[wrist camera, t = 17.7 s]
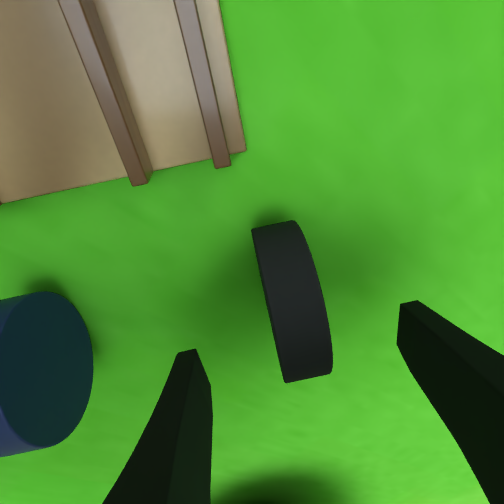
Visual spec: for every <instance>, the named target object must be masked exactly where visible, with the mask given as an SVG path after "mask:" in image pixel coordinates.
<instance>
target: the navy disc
mask: <svg viewBox="0 0 504 504" xmlns="http://www.w3.org/2000/svg"><path fill="white" fill-rule="evenodd" d="M92 382H93V353H92V347H91V342H90V338H89V334H88V331H87V328H86V326H85V323H84V321H83V319H82V317H81V316H80V314H79V313H78V311H77V310H76V308H75V307H74V306H73V305H72V304H71V303H70V302H69V301H68V300H67V299H65V298H64V297H62V296H60V295H59V294H56V293H53V292H47V291H41V292H35V293H30V294H26V295H21V296H16V297H12V298H7V299H2V300H0V457H5V456H10V455H15V454H20V453H24V452H29V451H34V450H38V449H43V448H48V447H51V446H54V445H56V444H58V443H60V442H62V441H63V440H64V439H65V438H67V437H68V436H69V435H70V434H71V433H72V432H73V431H74V429H75V428H76V427H77V425H78V424H79V422H80V420H81V418H82V417H83V414H84V412H85V410H86V407H87V404H88V401H89V398H90V394H91V389H92Z"/></svg>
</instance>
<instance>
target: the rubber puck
mask: <svg viewBox="0 0 504 504" xmlns="http://www.w3.org/2000/svg"><path fill="white" fill-rule="evenodd" d="M251 232H252V238H253V243H254V248H255V253H256V257H257V262H258V267H259V272H260V276H261V281H262V286H263V290H264V295H265V300H266V304H267V309H268V314H269V318H270V323H271V327H272V332H273V336H274V341H275V345H276V350H277V354H278V359H279V363H280V367H281V372H282V376H283V380H284V382H285V383H290V382H295V381H299V380H304V379H309V378H313V377H318V376H323V375H327V374H330V373H331V372H332V367H333V352H332V342H331V334H330V328H329V322H328V317H327V312H326V307H325V303H324V298H323V294H322V290H321V286H320V282H319V279H318V275H317V272H316V268H315V265H314V262H313V258H312V255H311V252H310V250H309V247H308V244H307V242H306V239H305V237H304V235H303V232H302V230H301V229H300V227H299V225H298V224H297V223H296V222H295V221H293V220H290V221H286V222H281V223H277V224H272V225H267V226H263V227H258V228H253V229H252V230H251Z"/></svg>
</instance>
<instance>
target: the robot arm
mask: <svg viewBox="0 0 504 504" xmlns="http://www.w3.org/2000/svg"><path fill="white" fill-rule="evenodd" d="M397 346H398V348H399V350H400V352H401V354H402V356H403V358H404V360H405V362H406V364H407V366H408V368H409V370H410V372H411V373H412V375H413V376H414V378H415V380H416V381H417V383H418V384H419V386H420V387H421V389H422V390H423V392H424V393H425V395H426V396H427V398H428V399H429V401H430V402H431V404H432V405H433V407H434V408H435V410H436V411H437V413H438V414H439V416H440V417H441V419H442V420H443V422H444V423H445V425H446V426H447V428H448V429H449V431H450V432H451V434H452V436H453V437H454V439H455V440H456V442H457V444H458V445H459V447H460V449H461V451H462V452H463V454H464V456H465V458H466V460H467V462H468V463H469V465H470V467H471V469H472V471H473V473H474V474H475V476H476V478H477V480H478V482H479V484H480V486H481V488H482V489H483V491H484V493H485V495H486V497H487V499H488V501H489V503H490V504H504V355H502V354H500V353H498V352H497V351H495V350H493V349H492V348H490V347H489V346H487V345H485V344H484V343H482V342H480V341H479V340H477V339H476V338H474V337H472V336H471V335H469V334H468V333H466V332H465V331H463V330H462V329H460V328H459V327H457V326H455V325H454V324H452V323H451V322H449V321H448V320H446V319H445V318H443V317H442V316H440V315H439V314H438V313H436V312H435V311H433V310H432V309H430V308H429V307H427V306H426V305H424V304H423V303H421V302H420V301H418V300H416V301H411V302H407V303H402V304H400V311H399V322H398V333H397ZM212 425H213V411H212V396H211V385H210V382H209V380H208V377H207V375H206V372H205V370H204V367H203V365H202V363H201V360H200V358H199V355H198V353H197V350H196V349H192V350H187V351H182V352H178V354H177V355H176V358H175V360H174V363H173V366H172V368H171V371H170V374H169V376H168V379H167V381H166V383H165V386H164V388H163V391H162V393H161V395H160V398H159V400H158V402H157V404H156V406H155V409H154V411H153V413H152V415H151V417H150V420H149V422H148V424H147V426H146V428H145V429H144V431H143V433H142V435H141V437H140V439H139V441H138V443H137V445H136V447H135V449H134V451H133V453H132V455H131V456H130V458H129V460H128V462H127V464H126V465H125V467H124V469H123V470H122V472H121V474H120V476H119V477H118V479H117V481H116V482H115V484H114V486H113V487H112V489H111V490H110V492H109V494H108V495H107V497H106V498H105V500H104V501H103V503H102V504H210V484H211V455H212Z"/></svg>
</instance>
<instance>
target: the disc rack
mask: <svg viewBox="0 0 504 504" xmlns="http://www.w3.org/2000/svg"><path fill="white" fill-rule="evenodd" d="M245 151H246V143H245V138H244V133H243V127H242V122H241V117H240V111H239V106H238V101H237V95H236V90H235V85H234V79H233V74H232V69H231V63H230V58H229V53H228V47H227V42H226V37H225V31H224V26H223V21H222V15H221V10H220V5H219V0H0V205H2V204H3V203H8V202H13V201H17V200H22V199H26V198H31V197H36V196H40V195H45V194H50V193H54V192H59V191H64V190H68V189H73V188H78V187H82V186H87V185H91V184H96V183H101V182H105V181H110V180H115V179H119V178H124V177H129V180H130V182H131V185H132V186H139V185H144V184H147V183H148V182H149V180H150V178H151V176H152V173H153V171H157V170H161V169H166V168H170V167H175V166H180V165H184V164H189V163H194V162H198V161H203V160H208V159H213V163H214V167H215V169H219V168H223V167H228V166H231V160H230V155H231V154H235V153H240V152H245Z"/></svg>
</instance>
